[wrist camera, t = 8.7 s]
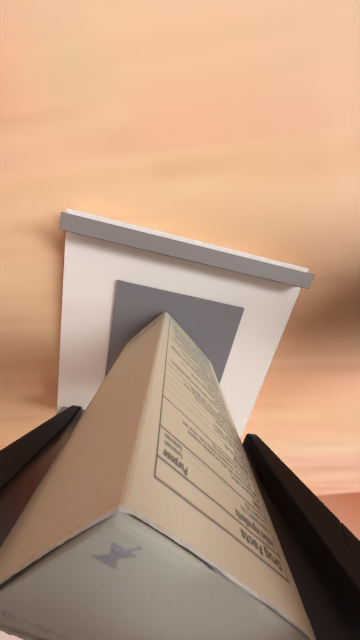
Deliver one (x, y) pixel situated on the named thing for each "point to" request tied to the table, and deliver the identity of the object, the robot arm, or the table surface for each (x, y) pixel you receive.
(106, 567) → the skincare box
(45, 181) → the table surface
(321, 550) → the robot arm
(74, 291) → the stand
